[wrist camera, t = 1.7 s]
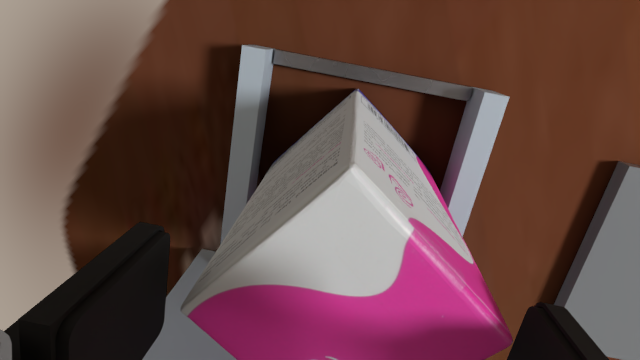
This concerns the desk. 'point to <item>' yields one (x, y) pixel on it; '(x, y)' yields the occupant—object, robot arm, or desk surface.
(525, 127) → the desk surface
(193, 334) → the dispenser
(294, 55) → the bar
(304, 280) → the supplement box
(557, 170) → the desk surface
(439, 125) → the desk surface
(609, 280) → the coaster
